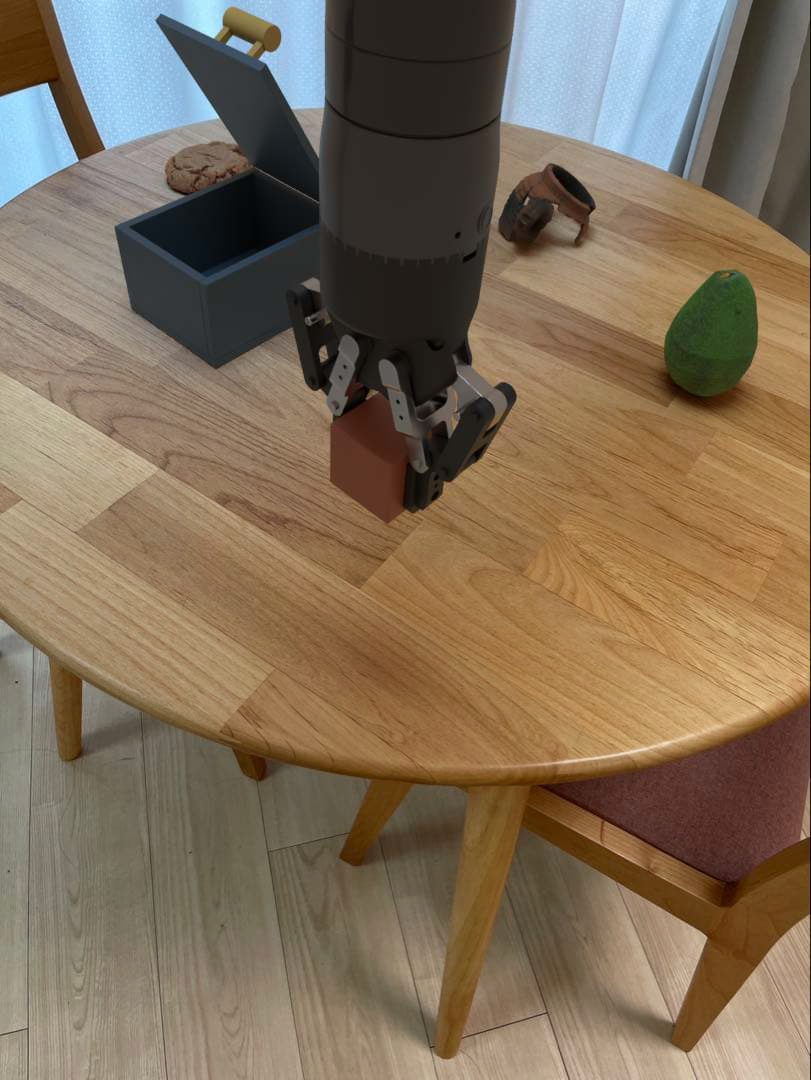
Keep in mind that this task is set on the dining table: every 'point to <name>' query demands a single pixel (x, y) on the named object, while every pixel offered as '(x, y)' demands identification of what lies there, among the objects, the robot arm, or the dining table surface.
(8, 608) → the dining table surface
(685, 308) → the avocado
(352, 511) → the dining table surface
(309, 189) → the lid
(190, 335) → the chest
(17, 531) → the dining table surface
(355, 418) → the block
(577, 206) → the pottery mug
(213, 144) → the cookie
